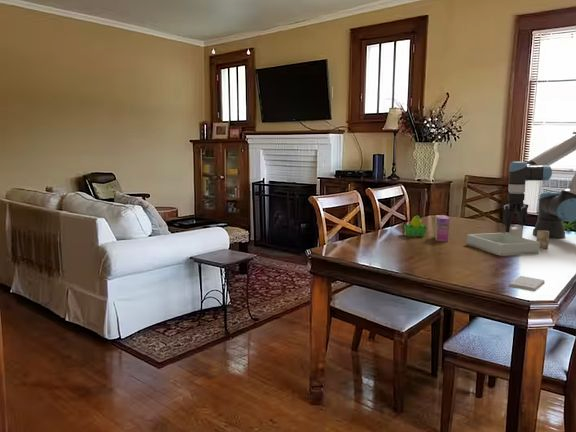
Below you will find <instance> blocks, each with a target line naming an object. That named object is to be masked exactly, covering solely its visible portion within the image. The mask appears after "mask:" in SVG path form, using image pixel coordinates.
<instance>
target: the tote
mask: <svg viewBox="0 0 576 432" xmlns="http://www.w3.org/2000/svg"><path fill="white" fill-rule="evenodd" d="M466 246H470V247H473V248H475V249H478V248H479V250H482V251H484V252H488V253H491V254H494V255H497V256H499V257H504V256H505V257H508V256H521V254H523V255H532V254H533V255H535V254H540V249H539V248H540V242H536V240H532V239H529V238H528V239H527V238H524V237H522V238H521V237H517V236H513V235H510V234H506V232H492V233H489V232H488V233H473V234H472V233H468V234H467V237H466Z"/></svg>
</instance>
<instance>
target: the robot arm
mask: <svg viewBox="0 0 576 432" xmlns="http://www.w3.org/2000/svg"><path fill="white" fill-rule="evenodd" d="M575 151H576V130H575V131H573V132H572V135H570V136H568V137H567V138H565V139H563V140H562V141H559V142H558V143H556V144H555V145H553V146H552V147H550V148H548V149H547V150H545V151H543V152H541V153H540V154H537V155H536V156H535V157H533V158H532V159H530V160H527V161H511V162H510V163H509V168H508V169H509V170H508V187H507V188H508V189H507V190H508V193H507V200H508V202H507V204H505V205H504V204H503V205H502V210H503V211H502V219H501V220H502V223H501V224H502V225H503V226H505V233H506V234H510V235H511V230H512V227H513V226H512V225H511V224H512V221H513V218H514V215H515V214H516V219H517V222H518V224H517V225H516V227H517V228H521V229H524V226H526V224H528V209H529V204H526V203H524V201H525V196H526V195H525V193H526V182H527V181H528V182H529V181H534V182H535V181H538V182H539V181H542V182H543V181H549V180H551V178H552V175H553V169H552V167H551V165H553V164H555V163H556V162H558V161H559V160H561V159H563V158H565V157H566V156H568V155H570V154H572V153H573V152H575ZM538 198H539V199H538V211H537V220H536V223H535V226H534V228H533V229H532V235H533V236H536V237H537V231H538V230H544V231H549V239H561V238H562V239H564V238H566V231H565V227H564V221H565V222H575V221H576V172H575V173H574V175H573V177H572V178H571V180H570V182H569V184H568V185H567V187H566V188H564V189H562V190H561V191H560V192H542V193H540V195H539V197H538Z"/></svg>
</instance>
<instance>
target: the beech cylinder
mask: <svg viewBox="0 0 576 432" xmlns="http://www.w3.org/2000/svg"><path fill="white" fill-rule="evenodd" d="M549 240H550V238H549V231H544V230H538V231H537V236H536V240H535V241H536V242H540V248H539V250H548V248H549V242H550V241H549Z"/></svg>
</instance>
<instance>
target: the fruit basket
mask: <svg viewBox="0 0 576 432" xmlns="http://www.w3.org/2000/svg"><path fill="white" fill-rule="evenodd" d="M410 220H411V221H410V224H403V227H404V230H405V231H404V233H405V235H406V237H416V236H420V238H424V237H425V235H426V231H427V230H428V227H427V226H426V225H423V224H422V220H421V218H420V216H419V215H415V216H413V217H412V219H410Z"/></svg>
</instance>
